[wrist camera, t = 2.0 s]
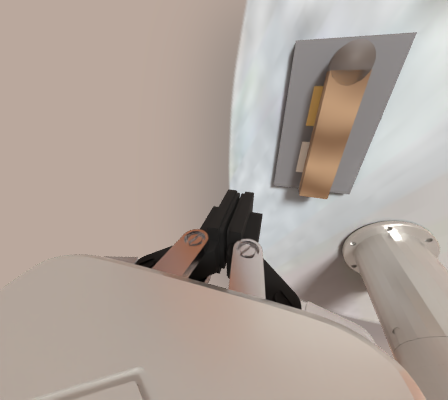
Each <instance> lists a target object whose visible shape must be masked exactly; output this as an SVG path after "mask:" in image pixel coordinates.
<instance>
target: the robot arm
mask: <svg viewBox="0 0 448 400" xmlns="http://www.w3.org/2000/svg"><path fill="white" fill-rule="evenodd" d="M253 198H254V193H251V192H245V194H243V193H242V194H241V197H240V193H237V191H236V190H228V191H227V193H226V195H225V197H224V198H223V200H222V202H221V204H220V206H219V207H215V206H214V207H213V208H212V210H211V212H210V213H209V215H208V216H207V218H206V220H205V222H204V223H203V225H202V227H201V228H200V229H193V230H190V231H188V232H186V233H185V234H183V236H182V237H181V238H180V239H179V240H178V241H177V242H176V243H175V244H174V245H173V246H171V247H168V248H165V249H162V250H160V251H157V252H154V253H152V254H149V255H146V256H144V257H142V258H140V259H138V257H107V256H106V257H101V256H94V255H66V256H59V257H55V258H51V259H48V260H46V261H43V262H42V263H40V264H38V265H36V266H35V267H33V268H32V269H30V270H28V271H26V272H25V273H23V274H22V275H21V276H19V277H18V278H16V279H15V280H13V281H12V282H10V283H9V284H7V285H6V286H4V287H3V288H2V289H0V400H448V271H447V269H446V268H445V267H444V266H443V265H442V264H441V263H440V262H439V260H438V259H437V258H438V255H439V253H440V246H439V243H438V241H437V240H436V238H435V237H434V236H433V235H432V234H431V233H430V232H429V231H428V230H426V229H425V228H423V227H421V226H419V225H416V224H413V223H409V222H403V221H384V222H378V223H374V224H370V225H367V226H365V227H362V228H360V229H358V230H357V231H355V232H354V233H352V234H351V235H350V236H349V237H348V238H347V239H346V241H345V242H344V245H343V249H342V253H343V257H344V259H345V262H346V263H347V265H348V266H349V267H350V268H351V269H352V270H354V271H356V272H357V273H359V274H361V277H362V279H363V282H364V284H365V287H366V289H367V292H368V294H369V297H370V299H371V302H372V304H373V307H374V309H375V312H376V314H377V317H378V319H379V322H380V324H381V327H382V329H383V332H384V334H385V336H386V339H387V341H388V344H389V347H390V349H391V352H392V353H393V357H394V358H393V357H391V356H390V355H389V354H388V353H387V352H385V351H384V350H382V349H381V348H380V347H379V346H377V345H376V344H375V341H374V340H373V338H372V337H371V335H370V334H369V333H368V332H367V331H366V330H365V329H364V328H362V327H361V326H359V325H358V324H356V323H354V322H352V321H350V320H348V319H345V318H343V317H341V316H339V315H337V314H335V313H333V312H331V311H328V310H326V309H324V308H322V307H320V306H318V305H316V304H313V303H311V302H309V301H307V303H306V302H304V301H302V300H300V299H299V298H298V296H297V295H296V293H295V292H294V291H293V290H292V289H291V288H290V287H289V286H288V285H287V284H286V283H285V281H284V280H283V279H282V278H281V277H280V276H279V275H278V274H277V273H276V272H275V271H274V269H273V268H272V267H271V266H270V265H269V264H268V263H267V262H266V261H265V260H264V259H263V250H262V247H261V245H260V244H259V243H258V241H259V235H260V229H261V221H262V214H260V213H253V212H252V209H253ZM226 263H227V276H228V278H229V279H230V280H229V289H226V288H222V287H218V286H215V285H211V284H208V282H209V281H210V278H211V275H212V274H214V273H220V271H221V268H223V269H224V268H225V266H226Z"/></svg>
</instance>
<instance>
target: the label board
mask: <svg viewBox="0 0 448 400" xmlns="http://www.w3.org/2000/svg"><path fill="white" fill-rule="evenodd" d="M416 33H417V32H416ZM416 33H402V34H387V35H372V36H357V37H343V38H328V39H313V40H298V41H296V43H295V50H294V56H293V63H292V69H291V76H290V82H289V89H288V95H287V101H286V108H285V114H284V121H283V127H282V134H281V140H280V147H279V153H278V159H277V166H276V172H275V179H274V185H275V186H284V187H292V188H299V185H300V181H301V177H302V173H303V169H304V165H305V160H306V156H307V152H308V148H309V144H310V140H311V135H312V131H313V127H314V123H315V119H316V115H317V111H318V106H319V102H320V98H321V94H322V90H323V86H324V81H325V77H326V73H327V71H328V65H329V62H330V60H331V58H332V57H333V55H334V54H335V53H336V52H337V51H338V50H339V49H340V48H341V47H343V46H344V45H346V44H347V43H349V42H350V41H353V40H356V39H366V40H369V41H370V42H371V43H372V44H373V45H374V47H375V50H376V59H375V63H374V65H373V67H372V71H371V74H370V77H369V80H368V83H367V86H366V89H365V91H364V94H363V97H362V100H361V103H360V106H359V109H358V112H357V115H356V117H355V120H354V123H353V126H352V129H351V132H350V135H349V138H348V140H347V143H346V146H345V149H344V152H343V155H342V158H341V161H340V164H339V166H338V169H337V172H336V175H335V178H334V181H333V184H332V187H331V189H330V192H334V193H342V194H350V192H351V189H352V187H353V184H354V182H355V180H356V177H357V175H358V172H359V170H360V167H361V165H362V163H363V160H364V158H365V155H366V153H367V151H368V148H369V146H370V143H371V141H372V139H373V136H374V134H375V131H376V129H377V127H378V124H379V122H380V119H381V117H382V115H383V112H384V110H385V107H386V105H387V103H388V100H389V98H390V95H391V93H392V91H393V88H394V86H395V83H396V81H397V79H398V76H399V74H400V71H401V69H402V67H403V64H404V62H405V59H406V57H407V55H408V52H409V50H410V47H411V45H412V43H413V40H414V38H415V35H416Z"/></svg>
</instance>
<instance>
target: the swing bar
mask: <svg viewBox="0 0 448 400" xmlns="http://www.w3.org/2000/svg"><path fill="white" fill-rule="evenodd" d="M375 59H376V50H375V47H374V45H373V44H372V43H371V42H370V41H369V40H366V39H356V40H353V41H350V42H349V43H347V44H346V45H344V46H343V47H341V48H340V49H339V50H338V51H337V52H336V53H335V54H334V55H333V57H332V58H331V60H330V62H329V65H328V71H327V73H326V77H325V81H324V86H323V90H322V94H321V98H320V102H319V106H318V111H317V115H316V119H315V123H314V127H313V131H312V135H311V140H310V144H309V148H308V152H307V156H306V160H305V165H304V169H303V173H302V177H301V181H300V185H299V196H307V197H315V198H322V199H327V198H328V195H329V192H330V189H331V187H332V184H333V181H334V178H335V175H336V172H337V169H338V166H339V164H340V161H341V158H342V155H343V152H344V149H345V146H346V143H347V140H348V138H349V135H350V132H351V129H352V126H353V123H354V120H355V117H356V115H357V112H358V109H359V106H360V103H361V100H362V97H363V94H364V91H365V89H366V86H367V83H368V80H369V77H370V74H371V71H372V67H373V65H374V63H375Z"/></svg>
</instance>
